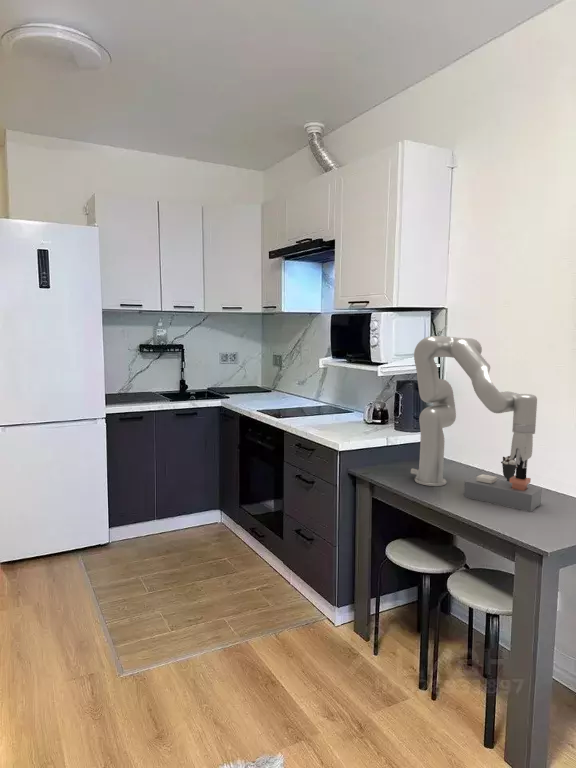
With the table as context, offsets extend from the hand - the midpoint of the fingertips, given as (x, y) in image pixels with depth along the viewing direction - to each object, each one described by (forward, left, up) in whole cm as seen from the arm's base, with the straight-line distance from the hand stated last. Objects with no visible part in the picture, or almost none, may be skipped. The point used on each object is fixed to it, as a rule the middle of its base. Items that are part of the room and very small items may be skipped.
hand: (520, 478), depth 194 cm
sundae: (-10, +19, -10) cm, 24 cm away
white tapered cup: (-12, 0, -9) cm, 15 cm away
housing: (-6, 0, -10) cm, 11 cm away
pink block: (0, 0, -8) cm, 8 cm away
